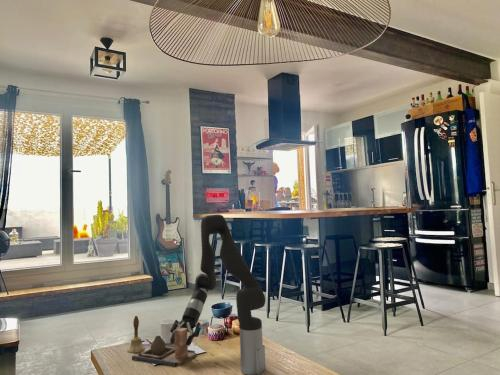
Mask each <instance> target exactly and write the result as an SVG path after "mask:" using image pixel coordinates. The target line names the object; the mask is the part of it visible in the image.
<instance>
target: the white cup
mask: <svg viewBox="0 0 500 375" xmlns="http://www.w3.org/2000/svg"><path fill="white" fill-rule="evenodd" d="M175 320H176V319H164V320H161V321H160V336H161V338H162V339H163V340H164V342H165V344H166V345H169V344H172V343H171V342H170V339H171V336H172V333H171V332H170V330H171V328H172V326H173V324H174V322H175Z"/></svg>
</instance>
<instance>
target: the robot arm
mask: <svg viewBox="0 0 500 375" xmlns="http://www.w3.org/2000/svg"><path fill="white" fill-rule="evenodd" d="M200 221H201V222H200V238H201V240H200V241H201V260H200V267H199V268H200V271H201V272H202V273H199V274H197V276H196V277H195V280H194V281H195V282H194V289H193V293H192V296H191V298H190V300H189V301H188V303H187V306H186V308H185V310H184V311H183V314H182V318H181V320H178V319H174V320H175V322H174V324H173V326H172V328H171V330H170V332H171V333H172V336H171V339H170V342H171V343H170V344H175V331H174V330H176V329H178V328H187V333H189V335H188V336H187V342H186V344H187V346H190V345H191V344H192V343H193V341H194V338H199V335H200V332H201V329H202V327H203V326H202V323H200V321H199V320H200V319H199V318H201V314H202V311H203V309H204V305H205V303H206V301H207V298H208V293H207V292H206V291H207V290H208V291H213V290H215V289H216V287H217V277H216V272H215V271H216V270H215V268H216V259H217V258H216V253H215V250H214V248H213V247H212V245H211V243H210V236H211V235H217V234H218V235H219V236H220V238H221V246H220V250H219V258H220V260H221V263H222V265H223V267H224V269H225V270H226V272H228V273H229V274H230V275H232V276H233V277H234V278H236V279H237V280H238V281H240V282H241V284H242V285H243V286H244V288H239V289H238V290H237V292H236V297H235V298H236V299H235V301H236V303H235V304H236V311H237V312H236V313H237V321H238V324H239V325H238V326H239V348H240V350H239V351H240V370H241V373H242V374H243V375H262V373H263V372H264V371H265V370H266V367H267V366H266V350H265V349H266V347H265V345H264V344H263V343H264V342H263V341H264V340H263V322H262V320H261V318H259V317H254V316H253V315H252V311H255V310H259V309H261V308H263V307H265V305H266V296H265V293H264V290H263V289H262V286H261V285H260V284H259V282H258V281H257V279H256V278H255V277H254V275H253V274H252V271H251V270H250V268H249V266H248V265H247V263H246V261H245V259H244V256H243V255H242V253H241V250H240V249H239V247H238V245H237V244H236V242H235V239H234V237H233V235H232V233H231V230H230V228H229V225H228V223H227V221H226V219H225V217H224V216H223V215H222V214H208V215H204V216H202V219H201V220H200ZM203 289H204V290H206V291H204V290H203Z"/></svg>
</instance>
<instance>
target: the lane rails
mask: <svg viewBox="0 0 500 375" xmlns="http://www.w3.org/2000/svg"><path fill="white" fill-rule="evenodd" d="M188 352H192V353H196V350H190V349H188ZM131 360H134V361H138V362H139V361H140V362H145V363H151V364H156V363H157V364H158V365H162V366H170V367H175V368H176V367H177V365H176V362H173V361H166V360H160V359H154V358H148V357H141V356H139V355H135V354H133V355H131Z"/></svg>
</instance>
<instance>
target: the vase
mask: <svg viewBox="0 0 500 375" xmlns="http://www.w3.org/2000/svg"><path fill="white" fill-rule="evenodd" d="M166 347H167V344H165V342H164V340H163V339H162V336H161V335H156V336H155V337H154V339H153V341H152V342H151V345H150V348H151V354H150V355H155V356H161V355H163V354H165V353H166V352H165V351H166Z"/></svg>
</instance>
